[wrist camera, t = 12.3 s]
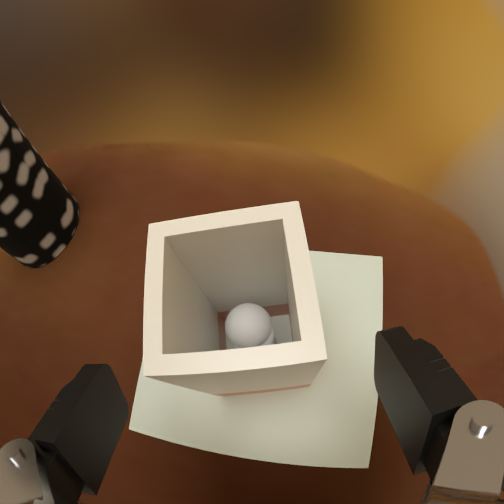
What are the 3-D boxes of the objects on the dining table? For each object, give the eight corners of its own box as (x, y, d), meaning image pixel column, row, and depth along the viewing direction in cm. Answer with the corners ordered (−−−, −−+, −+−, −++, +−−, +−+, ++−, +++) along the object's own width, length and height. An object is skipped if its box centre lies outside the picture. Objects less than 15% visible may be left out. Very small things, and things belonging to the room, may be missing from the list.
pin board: (139, 428, 18) (69, 428, 11) (180, 250, 24) (140, 186, 17) (362, 464, 15) (401, 490, 9) (377, 266, 21) (408, 201, 14)
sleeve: (219, 396, 17) (143, 375, 8) (214, 313, 19) (148, 224, 11) (309, 386, 17) (327, 359, 8) (297, 303, 19) (298, 200, 10)
